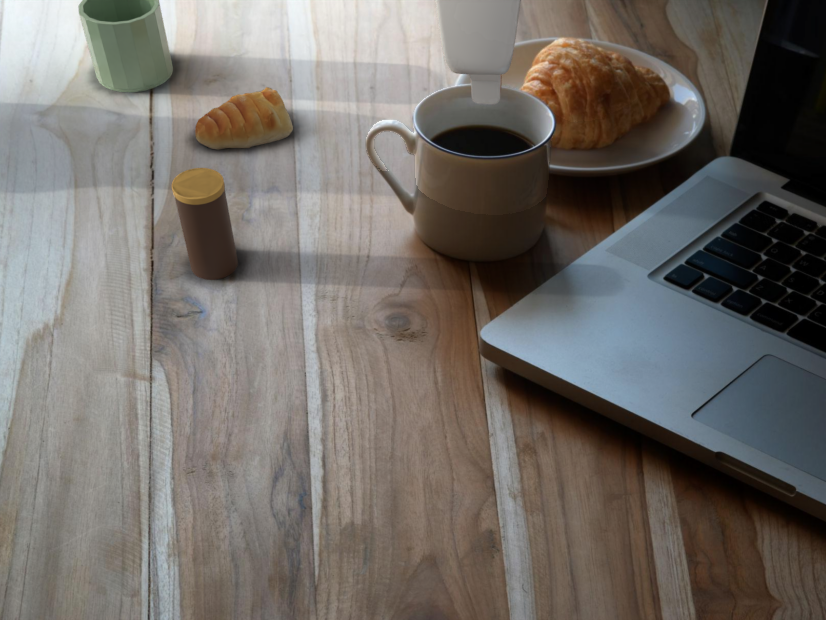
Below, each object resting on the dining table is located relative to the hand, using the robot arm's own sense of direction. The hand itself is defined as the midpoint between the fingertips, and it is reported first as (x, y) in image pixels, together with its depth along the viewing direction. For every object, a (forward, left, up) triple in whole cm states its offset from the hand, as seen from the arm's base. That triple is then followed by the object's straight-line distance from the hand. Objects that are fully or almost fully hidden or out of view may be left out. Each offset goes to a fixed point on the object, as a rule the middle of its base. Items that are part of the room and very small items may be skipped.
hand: (493, 57), depth 62 cm
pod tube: (-23, +1, -23) cm, 33 cm away
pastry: (-25, +21, -23) cm, 40 cm away
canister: (-40, +30, -23) cm, 55 cm away
